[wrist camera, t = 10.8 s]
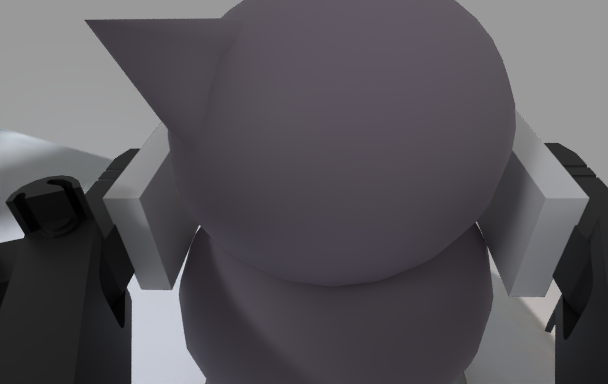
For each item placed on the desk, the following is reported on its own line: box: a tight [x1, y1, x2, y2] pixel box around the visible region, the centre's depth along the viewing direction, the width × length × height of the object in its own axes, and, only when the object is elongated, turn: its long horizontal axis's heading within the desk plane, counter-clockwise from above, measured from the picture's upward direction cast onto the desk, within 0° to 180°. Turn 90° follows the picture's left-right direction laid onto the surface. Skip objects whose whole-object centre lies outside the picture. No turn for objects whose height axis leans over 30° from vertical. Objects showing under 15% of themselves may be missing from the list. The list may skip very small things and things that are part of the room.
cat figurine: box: [85, 0, 516, 384], centre depth 10 cm, size 8×8×12 cm
